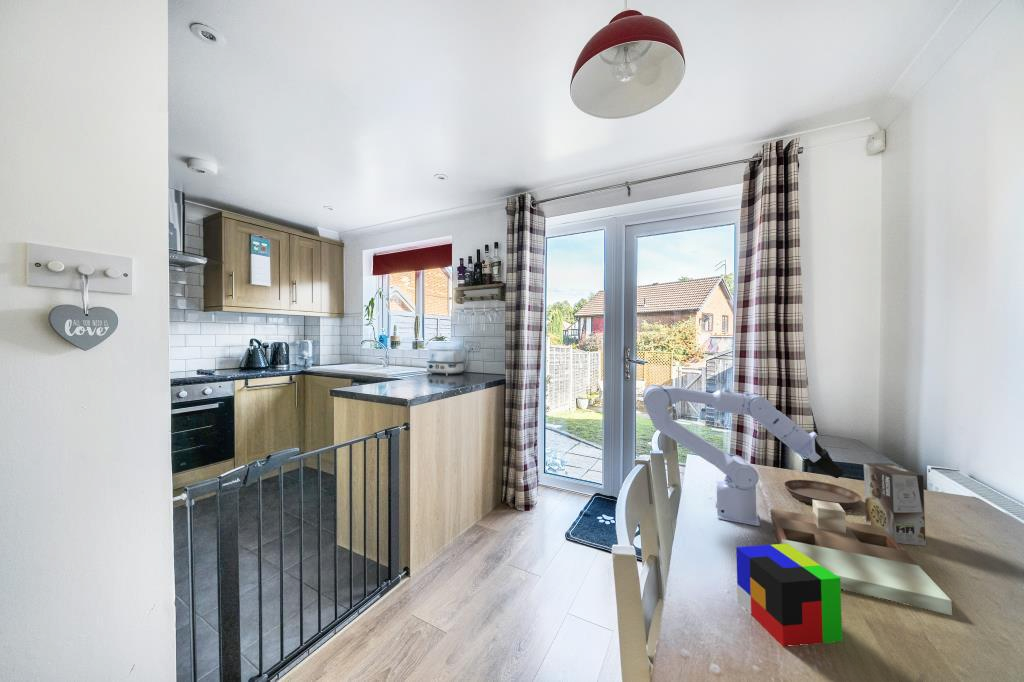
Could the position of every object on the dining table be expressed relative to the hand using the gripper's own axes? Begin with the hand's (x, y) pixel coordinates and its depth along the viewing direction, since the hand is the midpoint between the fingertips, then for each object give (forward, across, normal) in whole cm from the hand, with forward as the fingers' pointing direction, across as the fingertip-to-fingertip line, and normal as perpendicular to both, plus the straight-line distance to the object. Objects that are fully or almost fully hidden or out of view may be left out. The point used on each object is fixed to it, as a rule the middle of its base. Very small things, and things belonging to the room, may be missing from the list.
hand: (834, 468), depth 92 cm
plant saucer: (+14, +17, +12) cm, 25 cm away
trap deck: (+6, -17, +12) cm, 22 cm away
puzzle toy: (-9, -44, +19) cm, 49 cm away
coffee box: (+19, -1, +4) cm, 19 cm away
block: (+5, -8, +10) cm, 14 cm away
